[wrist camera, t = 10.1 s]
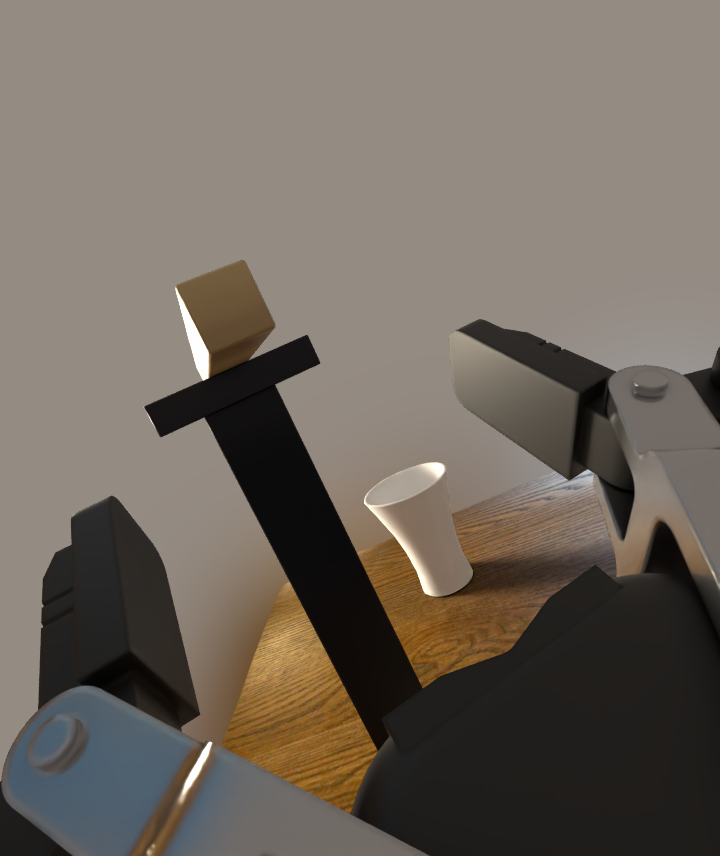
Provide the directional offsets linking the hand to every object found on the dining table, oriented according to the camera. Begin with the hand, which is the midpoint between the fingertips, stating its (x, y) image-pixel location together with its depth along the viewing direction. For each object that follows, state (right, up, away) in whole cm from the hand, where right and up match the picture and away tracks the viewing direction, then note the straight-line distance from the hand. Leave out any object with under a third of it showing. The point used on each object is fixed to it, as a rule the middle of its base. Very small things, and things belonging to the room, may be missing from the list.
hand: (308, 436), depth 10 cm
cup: (+12, -19, +47) cm, 52 cm away
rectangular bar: (-6, +3, +14) cm, 15 cm away
